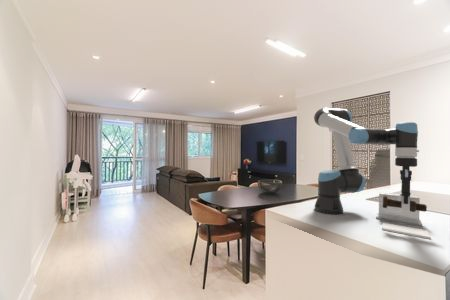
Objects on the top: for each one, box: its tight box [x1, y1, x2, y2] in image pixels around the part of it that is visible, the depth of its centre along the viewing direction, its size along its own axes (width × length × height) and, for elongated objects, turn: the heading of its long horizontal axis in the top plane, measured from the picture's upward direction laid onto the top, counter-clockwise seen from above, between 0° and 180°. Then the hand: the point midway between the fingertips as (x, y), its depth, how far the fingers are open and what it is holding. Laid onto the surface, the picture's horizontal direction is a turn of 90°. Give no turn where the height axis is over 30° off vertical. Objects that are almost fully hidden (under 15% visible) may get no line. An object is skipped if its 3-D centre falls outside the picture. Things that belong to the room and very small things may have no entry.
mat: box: [381, 222, 432, 240], centre depth 97 cm, size 16×10×1 cm, turn 53°
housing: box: [375, 191, 423, 228], centre depth 113 cm, size 18×10×13 cm, turn 53°
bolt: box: [383, 196, 428, 212], centre depth 97 cm, size 6×5×15 cm
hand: (405, 209), depth 97 cm, fingers closed on bolt, 5 cm apart
